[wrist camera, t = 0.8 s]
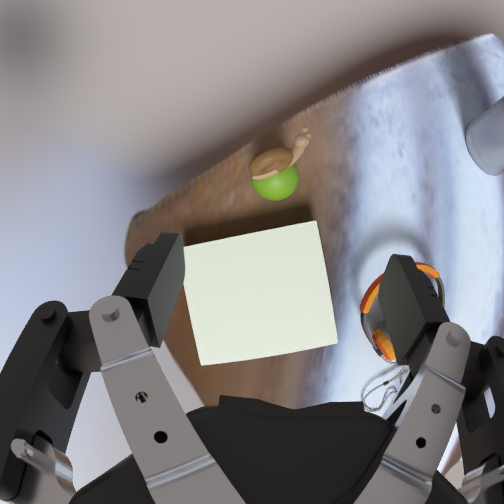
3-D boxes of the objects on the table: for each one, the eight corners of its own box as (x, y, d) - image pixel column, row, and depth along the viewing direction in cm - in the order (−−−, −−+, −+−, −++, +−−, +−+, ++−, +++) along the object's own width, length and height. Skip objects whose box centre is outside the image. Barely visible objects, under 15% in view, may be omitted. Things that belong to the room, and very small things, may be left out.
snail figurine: (312, 188, 36) (325, 155, 24) (265, 212, 37) (258, 187, 25) (291, 152, 37) (294, 106, 25) (245, 174, 37) (230, 136, 25)
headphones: (371, 430, 32) (334, 306, 29) (360, 408, 37) (323, 290, 34) (473, 374, 31) (461, 244, 28) (455, 358, 36) (437, 238, 33)
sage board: (313, 224, 36) (316, 220, 33) (333, 336, 35) (338, 343, 32) (185, 249, 37) (177, 248, 34) (207, 358, 37) (201, 365, 34)
